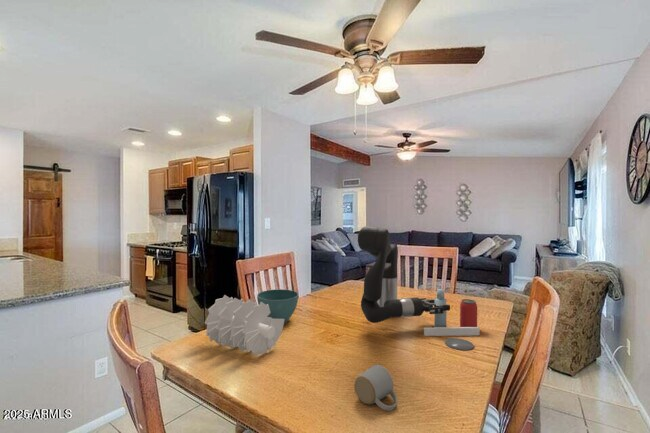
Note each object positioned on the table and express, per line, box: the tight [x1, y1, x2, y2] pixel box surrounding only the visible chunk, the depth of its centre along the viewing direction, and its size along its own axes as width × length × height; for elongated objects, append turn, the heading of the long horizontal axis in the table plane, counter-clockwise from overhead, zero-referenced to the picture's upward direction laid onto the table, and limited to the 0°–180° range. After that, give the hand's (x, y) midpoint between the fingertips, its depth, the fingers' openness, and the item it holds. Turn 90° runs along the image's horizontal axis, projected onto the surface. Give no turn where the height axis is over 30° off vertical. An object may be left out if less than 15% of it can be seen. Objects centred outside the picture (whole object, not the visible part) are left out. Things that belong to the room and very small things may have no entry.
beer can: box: [459, 298, 478, 327], centre depth 135 cm, size 7×7×12 cm
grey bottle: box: [433, 288, 448, 327], centre depth 138 cm, size 5×5×16 cm
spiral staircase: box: [204, 294, 285, 358], centre depth 117 cm, size 18×18×25 cm
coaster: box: [444, 337, 475, 351], centre depth 120 cm, size 10×10×1 cm
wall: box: [423, 326, 480, 337], centre depth 129 cm, size 22×1×3 cm, turn 92°
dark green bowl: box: [256, 288, 299, 324], centre depth 145 cm, size 18×18×12 cm
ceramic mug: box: [354, 364, 398, 412], centre depth 84 cm, size 11×8×8 cm
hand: (443, 304), depth 138 cm, fingers open, 8 cm apart
